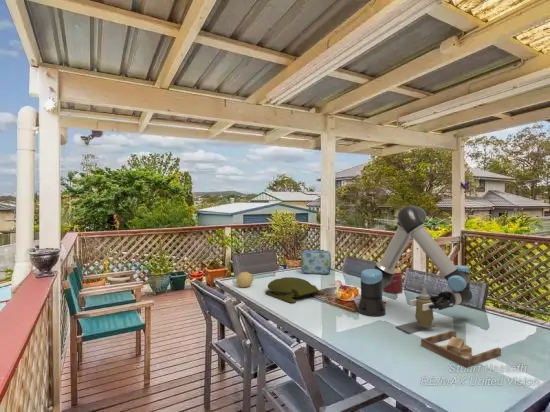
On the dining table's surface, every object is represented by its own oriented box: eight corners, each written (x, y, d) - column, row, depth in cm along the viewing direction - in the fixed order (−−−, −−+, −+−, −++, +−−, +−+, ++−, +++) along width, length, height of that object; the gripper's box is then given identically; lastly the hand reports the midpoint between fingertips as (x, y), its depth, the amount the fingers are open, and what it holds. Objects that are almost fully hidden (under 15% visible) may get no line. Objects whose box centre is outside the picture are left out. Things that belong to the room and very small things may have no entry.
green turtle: (326, 295, 215) (326, 281, 215) (291, 305, 196) (291, 289, 196) (291, 284, 243) (291, 272, 242) (258, 292, 224) (258, 278, 223)
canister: (402, 289, 227) (402, 264, 226) (403, 294, 214) (403, 268, 214) (383, 287, 231) (382, 263, 231) (382, 292, 219) (382, 267, 218)
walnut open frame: (454, 338, 146) (454, 330, 146) (500, 358, 128) (501, 348, 128) (421, 348, 137) (421, 339, 137) (466, 370, 119) (466, 360, 119)
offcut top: (446, 349, 129) (447, 344, 128) (452, 341, 136) (452, 336, 136) (459, 353, 126) (459, 348, 126) (464, 344, 133) (464, 339, 133)
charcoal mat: (421, 321, 166) (421, 320, 166) (453, 334, 150) (453, 333, 150) (395, 327, 159) (395, 326, 159) (426, 342, 142) (426, 340, 142)
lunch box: (331, 272, 281) (331, 248, 281) (331, 275, 271) (331, 250, 270) (301, 271, 286) (301, 248, 285) (300, 274, 275) (300, 250, 275)
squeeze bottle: (412, 321, 158) (411, 285, 158) (427, 320, 159) (427, 284, 158) (420, 328, 150) (420, 290, 150) (437, 327, 151) (437, 289, 150)
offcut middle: (440, 350, 132) (440, 345, 132) (462, 347, 134) (462, 343, 134) (448, 355, 128) (448, 350, 128) (471, 352, 130) (471, 347, 130)
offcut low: (438, 351, 136) (438, 346, 136) (471, 356, 131) (471, 352, 131) (439, 356, 131) (439, 351, 131) (473, 362, 126) (473, 357, 126)
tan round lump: (255, 285, 240) (255, 271, 239) (245, 289, 229) (245, 274, 229) (243, 283, 246) (243, 269, 246) (233, 287, 236) (233, 272, 235)
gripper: (467, 311, 153) (434, 320, 143) (432, 300, 171) (400, 307, 161) (467, 296, 153) (434, 303, 143) (432, 286, 171) (400, 292, 161)
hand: (416, 305), depth 152 cm, fingers closed on squeeze bottle, 6 cm apart
